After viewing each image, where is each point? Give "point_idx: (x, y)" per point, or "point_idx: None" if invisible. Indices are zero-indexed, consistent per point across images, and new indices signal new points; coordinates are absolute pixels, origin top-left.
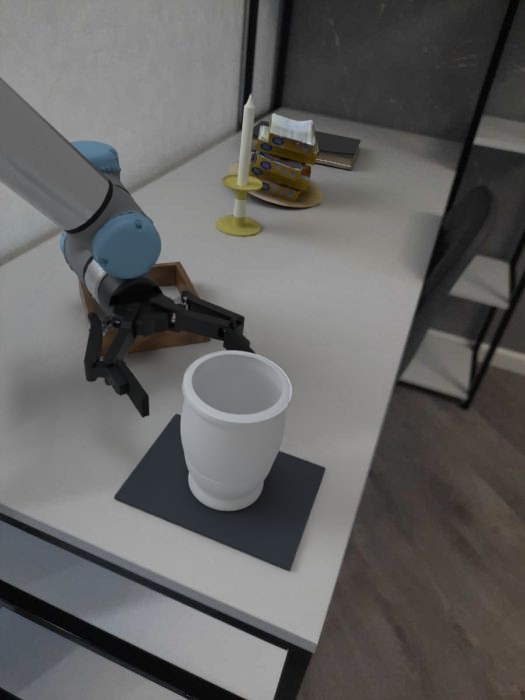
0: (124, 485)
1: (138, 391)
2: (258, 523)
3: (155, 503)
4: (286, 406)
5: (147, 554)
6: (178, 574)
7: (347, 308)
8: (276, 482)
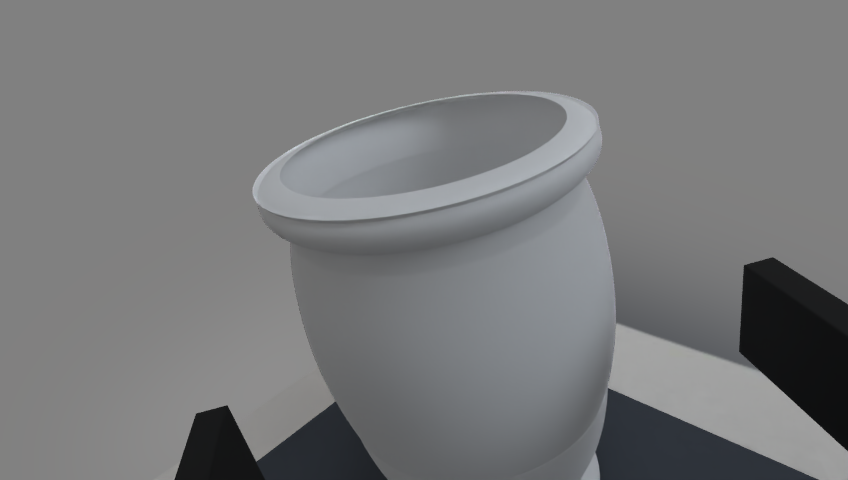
0: None
1: (802, 281)
2: None
3: (694, 446)
4: (339, 134)
5: (698, 365)
6: (632, 334)
7: None
8: None
